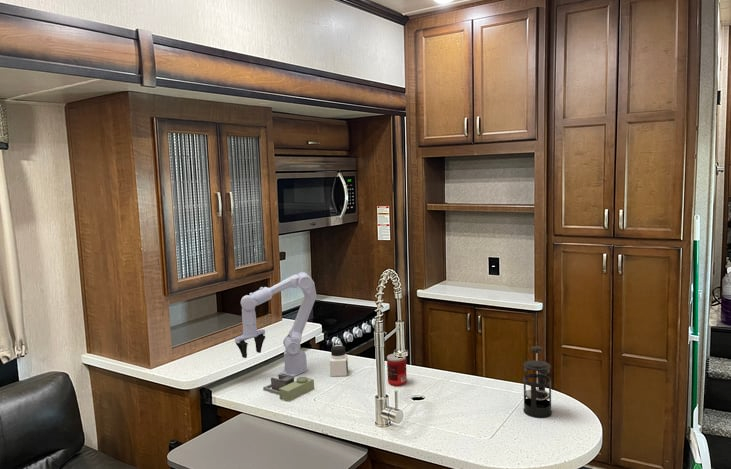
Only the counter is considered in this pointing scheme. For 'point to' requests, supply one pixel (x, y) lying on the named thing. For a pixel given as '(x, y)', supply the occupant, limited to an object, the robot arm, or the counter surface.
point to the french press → (537, 395)
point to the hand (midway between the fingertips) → (251, 354)
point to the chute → (281, 381)
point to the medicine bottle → (338, 361)
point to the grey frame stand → (293, 388)
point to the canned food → (396, 370)
